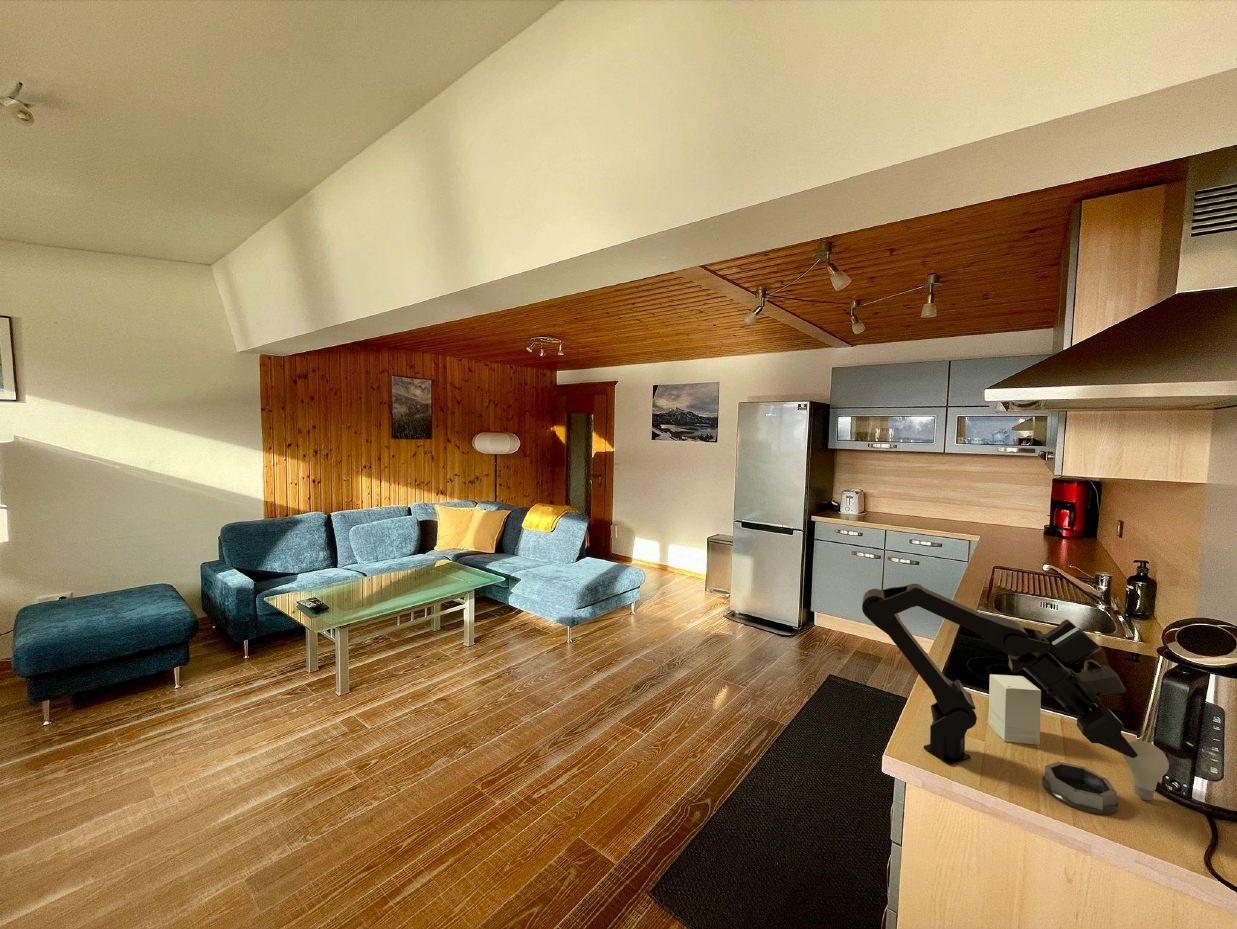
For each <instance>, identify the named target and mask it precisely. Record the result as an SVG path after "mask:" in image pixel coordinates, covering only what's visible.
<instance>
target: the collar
mask: <svg viewBox="0 0 1237 929" xmlns="http://www.w3.org/2000/svg"><path fill="white" fill-rule="evenodd" d="M1041 784H1042V787H1043V789H1044V790H1045V791H1046V793H1048V794H1049V795H1050V796H1051V797H1052V798H1054V799H1055V800H1057V801H1058V802H1060V803H1062V804H1064V805H1065V806H1068V807H1070V808H1073V809H1075V810H1077V811H1080V812H1083V813H1085V814H1086V813H1087V814H1090V815H1096V816H1112V815H1115V814H1116V813H1117V812H1119V802H1118V800H1117V793H1118V792H1117V791H1116V789H1115V788H1114V786H1113V784H1111V782H1110V781H1109V779H1108V778H1106V777H1104V776H1102V775H1101V774H1098V773H1096V772H1094V771H1093V770H1091V769H1089V768H1087V767H1085V766H1081V765H1078V764H1072V763H1066V762H1062V761H1056V762H1053V763H1050V764H1047V765H1044V775H1043V776H1042V778H1041Z"/></svg>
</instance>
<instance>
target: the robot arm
mask: <svg viewBox="0 0 1237 929" xmlns="http://www.w3.org/2000/svg"><path fill="white" fill-rule="evenodd" d="M862 597H863V598H862V605H861V609H862V613H863V616H865V617H866V618H867V619H868V621H870V622H871V623H872V624H873V625H875V627H876V628H878V629H880V631H882V632H884V633H886V634H887V635H888V637H889V638H890V640H891V641H893V643H894V644H895V646H896V647H897V649H899V651H900V652H901V653H902V655H903V656H904V657H905V658H906V660H907V661H908V662H909V663H910V665H911V666H912V667H913V668H914V669H915V671H916V673H917V674H918V675H919V677H920V678H921V679H922V680H923V682H924V683H925V684H926V685H927V687H928V688H929V689H930V690H931V692H932V695H933V697H934V699H935V701H936V702H934V703H932V704H931V705H930V711H931V712H930V713H931V718H932V722H931V724H930V730H929V731H930V733H929V734H930V735H929V744H926V745H925V744H924V745H923V749H924V750H925V751H927V752H928V753H930V754H932V755H933V756H935V758H938V759H940V760H941V761H942V762H944V763H946V764H947V765H949V766H952V765H955V764H960V763H962V762H965V761H968V760H971V759H972V756H971V755H970V754H968V753H967V752H965V750H966V749H965V748H966V744H965V743H966V733H967V732H968V730H969V729H972V728H973V727H975V725H976V724H977V715H976V714H977V713H976V711H975V710H976V709H977V708H976V706H975V703H974V700H973V697H972V693H970V692H968V691H967V690H966V689H965V688H964V686H963V684H962V683H961V681H960V680H959V679H956V680H955V681H954V682H953V681H951V680H950V679H949V678H948V677H947V676H945V675H944V673H943V672H942V671H941V670H940V668H939V667H938V666H937V665H936V664H935V662H934V661H933V659H932V658H931V657H930V656H929V655H928V653H927V652H926V651H925V650H924V648H923V647H922V646H921V644H920V643H919V641H917V639H916V638H915V636H913V634H912V633H911V631H909V629H908V627H906V626H905V624H904V623H903V621H902V620H901V616H900V615H899V613H902V612H904V611H907V610H909V609H912V608H914V607H915V608H916V607H919V608H920V609H921V608H922V609H923V610H926V611H928V612H930V613H932V614H935V615H936V616H939V617H941V618H943V619H945V620H948V621H949V622H952V623H954V624H956V625H958V626H960V627H963V628H965V629H967V630H969V631H972V632H974V633H975V634H977V635H978V636H979V637H981V638H982V639H984V640H985V641H986V642H987V643H989V644H990V645H991V646H993V647H994V648H996V649H998V650H1000V651H1001V652H1003V653H1004V654H1006V655H1007V657H1008V659H1009V660H1008V667H1009V668H1010V670H1011V672H1012V673H1014V674H1015V673H1018V672H1020V671H1021V670H1024V671H1026V673H1027V674H1029V676H1030V677H1032V678H1033V679H1034V680H1035V681H1036V683H1038V684H1039V685H1040V686H1041V687H1042V688H1043V689H1044V690H1045V691H1046V693H1047V694H1048V695H1049V696H1050V697H1051V698H1054V699H1055V700H1056V701H1057V702H1058V703H1059V704H1060V705H1061V706H1062V707H1063V708H1064V710H1065V711H1066V713H1068V714H1069V715H1070V716H1072V715H1074V714H1076V713H1077V714H1079V715H1080V716H1079V717H1077V718H1076V727H1077V728H1078V729H1079V731H1080V733H1081V734H1082V735H1083V737H1085V738H1086V739H1087V740H1088V741H1089V742H1090V743H1091V744H1099V745H1102V746H1104V747H1106V748H1109V749H1111V750H1112V751H1113V750H1114V751H1116V752H1118V753H1120V754H1122V755H1123V754H1124V755H1127V756H1129V757H1131V758H1135V757H1137V756H1138V754H1137V753H1136V752H1135V751H1134V749H1133V748H1132V747H1131V745H1130V744H1129V741H1128V740H1127V739H1126V738H1125V736H1124V735H1123V734H1122V731H1123V730H1124V726H1125V725H1124V724H1123V722H1122V721H1121V720H1120V718H1119V717H1117V715H1116V714H1114V712H1113V711H1112V710H1110V709H1109V707H1103V706H1100V705H1099V703H1098V702H1100V701H1102V700H1101V698H1100V697H1099V696H1106V695H1107V696H1108V695H1112V694H1122V693H1125V692H1126V691H1127V689H1126V687H1125V686H1124V683H1123V682H1122V680H1121V679H1120V677H1119V675H1118V673H1117V672H1116V671H1115V670H1114V669H1113V668H1112V667H1110V666H1107V665H1106V664H1103V665H1100V663H1098V662H1097V661H1096V660H1094V659H1087V660H1085V659H1086V658H1088V657H1090V656H1091V655H1093V654H1095V653H1097V652H1098V651H1100V650H1102V647H1101V646H1100V645H1099V644H1098V643H1097V642H1096V641H1095V640H1094V639H1093V638H1091V637H1090V636H1089V635H1088V634H1087V632H1085V631H1084V630H1083V629H1082V628H1080V627H1078V626H1076V624H1074V623H1072V621H1070V620H1069V619H1064V620H1063V621H1062V622H1060V624H1058V625H1057V626H1056V627H1054V628H1053V629H1051V630H1050V631H1048V632H1046V633H1045V634H1044V633H1043V631H1042V630H1039V629H1034V628H1030V627H1026V626H1022V625H1021V624H1020V623H1019V622H1017V621H1015V620H1012V619H1008V618H1005V617H1002V616H999V615H993V614H987V613H983V612H979V611H977V610H975V609H973V608H971V607H968V606H966V605H964V604H961V603H959V602H957V601H954V600H952V599H951V598H949V597H945V596H943V595H941V594H939V593H937V592H934V591H933V590H930V589H928V588H925V587H924V586H922V585H921V584H920V583H919V584H918V583H910V584H907V585H902V586H895V587H894V586H892V587H887V588H885V589H879V588H871V589H868V590H867V591H866V592H864V595H863V596H862ZM1050 652H1052V653H1053V654H1054V655H1055V656H1056V657H1057V658H1058V659H1059V660H1060V661H1062V662H1063V663H1064V664H1065V663H1068V664H1069V665H1072V664H1074V665H1076V664H1078V663H1080V662H1082V661H1084V660H1085V661H1084V663H1083V669H1081V672H1077V673H1076V672H1074V671H1073V670H1072V669H1071V668H1068V667H1065V666H1064V665H1063V664H1062V663H1061V662H1060V661H1059V660H1057V658H1055V656H1053V655H1052V654H1051V653H1050ZM914 669H913V670H914Z"/></svg>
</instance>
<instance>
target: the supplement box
mask: <svg viewBox="0 0 1237 929" xmlns="http://www.w3.org/2000/svg"><path fill="white" fill-rule="evenodd" d="M988 682H989V689H988V691H989V692H988V694H989V696H988V726H989V727H991V729H992V730H993V731H994V732H995V733H996V734H997V735H998V736H999V737H1000V738H1001V740H1002V741H1003V742H1007V743H1017V744H1027V745H1036V746H1037V745H1040V744H1041V743H1040V742H1041V741H1040V740H1041V738H1040V737H1041V712H1042V711H1041V708H1042V706H1041V704H1042V703H1041V701H1042V690H1041V689H1040V688H1039V687H1037V686H1036V685H1034V684H1033V683H1032V682H1031V681H1030V680H1029V679H1027V678H1026V677H1025V676H1022V675H1010V674H1009V675H1008V674H993V673H992V674H989V681H988Z"/></svg>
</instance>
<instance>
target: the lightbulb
mask: <svg viewBox="0 0 1237 929" xmlns="http://www.w3.org/2000/svg"><path fill="white" fill-rule="evenodd" d="M1128 743H1129V744H1130V745H1131V747H1132V748H1133V749H1134V751H1135V752H1136V753H1137V754H1138V756H1137V757H1135V758H1131V757H1129V756H1127V755H1124V754H1122V755H1123V760H1124V761H1125V763H1126V765H1127V766H1128V768H1129V770H1130V772H1131V776H1132V777H1131V778H1132V783H1133V785H1134V786H1133V787H1134V790H1133V791H1134V793H1135V795H1137V796H1138V797H1139V798H1140V799H1141V800H1144V801H1150V800H1154V796H1155V790H1156V789H1157V785H1158V782H1159V781H1160V780H1161V778H1162V777H1163V776H1165V775H1166V774H1167V772H1168V771H1169V768H1170V765H1169V764H1170V763H1169V760H1168V758H1167V756H1166V755H1165V753H1164V752H1163V750H1161V749H1160V748H1159V747H1157V746H1156V745H1154V744H1152V743H1151V742H1149V741H1144V740H1131V741H1128Z"/></svg>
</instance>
